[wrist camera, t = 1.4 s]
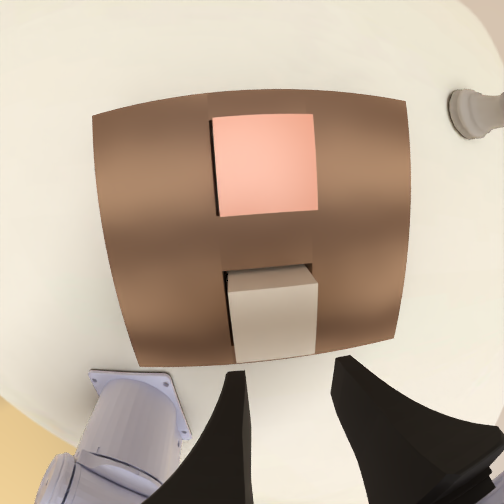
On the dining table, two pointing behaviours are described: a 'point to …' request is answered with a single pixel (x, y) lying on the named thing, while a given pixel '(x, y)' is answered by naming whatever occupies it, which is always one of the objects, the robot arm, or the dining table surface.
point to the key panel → (251, 220)
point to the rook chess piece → (476, 112)
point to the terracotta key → (265, 163)
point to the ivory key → (273, 312)
